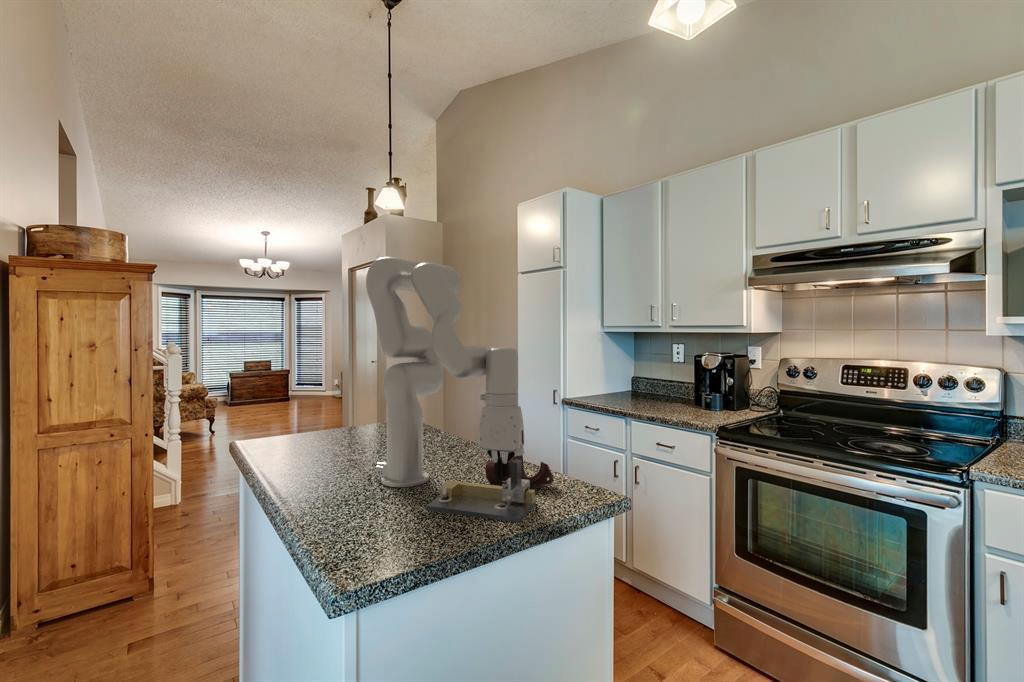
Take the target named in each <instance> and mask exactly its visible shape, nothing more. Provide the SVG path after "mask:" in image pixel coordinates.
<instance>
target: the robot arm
mask: <svg viewBox="0 0 1024 682" xmlns="http://www.w3.org/2000/svg"><path fill="white" fill-rule="evenodd" d="M461 287H462V279H461V275H460V274H459V272H458V271H457V270H456V269H455V268H454V267H452V266H449V265H445V264H439V263H436V262H435V263H434V262H420V261H415V260H411V259H410V260H409V259H406V258H401V257H395V256H384V257H383V256H382V257H379V258H377V259H375V260H374V261H372V263H371V264H370V266H369V268H368V269H367V273H366V279H365V288H366V292H367V296H368V299H369V301H370V304H371V308H372V309H373V313H374V317H375V323H376V328H377V333H378V338H379V343H380V346H381V351H382V353H383V354H384V356H385V357H387V358H388V359H393V360H394V359H396V360H403V359H410V360H411V361H409V362H408V361H407V362H400V363H395V364H392V365H390V366H389V367H388V368H387V369H386V370H385V372H384V373H383V377H382V389H383V392H384V397H385V398H384V399H385V404H386V405H385V406H386V462H384V461H383V462H382V461H378V462H377V463H376V465H375V469H374V470H375V472H382V476H381V477H380V483H381V485H384V486H386V487H391V488H409V487H410V488H412V487H416V486H420V485H423V484H424V483H427V482H428V481H429V479H430V478H429V477H430V475H429V473H427V472H426V471H424V412H423V408H422V405H421V404H420V402H419V399H418V397H423V396H424V397H425V396H429V395H433V394H436V393H437V392H438V391H439V390H441V387H442V386H443V382H444V381H443V380H444V377H443V369H442V368H444V370H445V371H446V372H447V373H448V374H449V375H450V376H451V377H452V378H456V379H459V380H462V379H470V378H471V379H472V378H480V377H481V378H482V377H485V392H484V393H483V394H480V395H479V396H480V400H481V401H483V402H484V404H485V405H484V404H483V405H482V406H481V411H480V417H479V424H478V435H477V436H478V438H477V440H478V441H477V442H478V446H479V451H480V452H481V453H483V454H486V455H488V456H489V457H490V458H491V459H492V460H491V461H493V462H494V463H495V475H496V480H501V481H502V482H504V481H503V480H505V479H506V478H507V476H508V475H509V461H510V460H511V459H512V458H513V457H514V456H521V455H524V454H525V450H524V449H525V448H524V445H525V428H524V418H523V411H522V408H521V406H520V405H519V353H518V351H517V349H516V348H515V347H507V346H506V347H505V346H504V347H498V346H497V347H492V346H491V347H490V346H485V345H477V346H476V345H463V343H462V341H461V339H460V337H459V336H458V334H457V332H456V329H455V326H454V323H455V322H456V321H457V320H459V319H460V318H461V316H462V315H463V313H464V309H465V308H464V306H463V303H462V301H461V300H460V299H459V297H458V295H457V294H459V292H460V291H461ZM397 290H398V291H407V292H416V294H417V296H418V297H419V300H420V301H421V302H422V304H423V306H424V308H425V310H426V311H427V314H428V315H429V317H430V319H431V320H432V324H433V325H432V329H431V330H430V329H429V328H428V327H426V326H424V325H421V324H411V322H410V320H409V317H408V313H407V308H406V305H405V302H403V300H402V298H401V297H400V296H399V295H398V294H397V292H396V291H397ZM442 366H443V367H442ZM502 452H503V453H502Z"/></svg>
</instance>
